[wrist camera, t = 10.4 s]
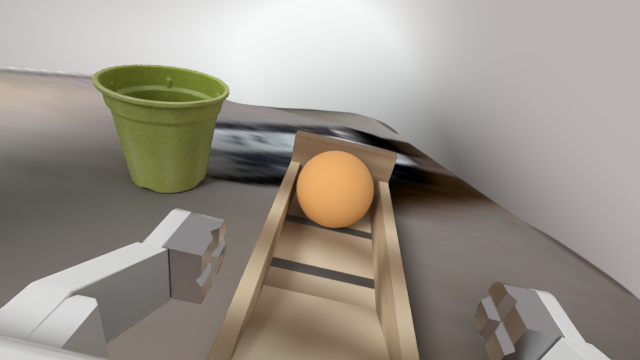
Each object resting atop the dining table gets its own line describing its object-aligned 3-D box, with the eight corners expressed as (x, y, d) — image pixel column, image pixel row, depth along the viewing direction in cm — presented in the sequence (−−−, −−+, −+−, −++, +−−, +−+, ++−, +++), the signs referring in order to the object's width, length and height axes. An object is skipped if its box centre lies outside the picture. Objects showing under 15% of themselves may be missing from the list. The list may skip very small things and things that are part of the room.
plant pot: (240, 194, 29) (248, 101, 24) (118, 218, 23) (101, 102, 19) (204, 148, 35) (206, 67, 30) (101, 158, 29) (85, 61, 25)
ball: (283, 210, 27) (278, 187, 21) (320, 156, 29) (324, 122, 23) (343, 248, 26) (354, 235, 20) (378, 190, 28) (396, 164, 22)
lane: (403, 563, 11) (488, 497, 8) (167, 511, 11) (157, 424, 8) (374, 213, 30) (395, 152, 27) (286, 193, 30) (297, 130, 27)
